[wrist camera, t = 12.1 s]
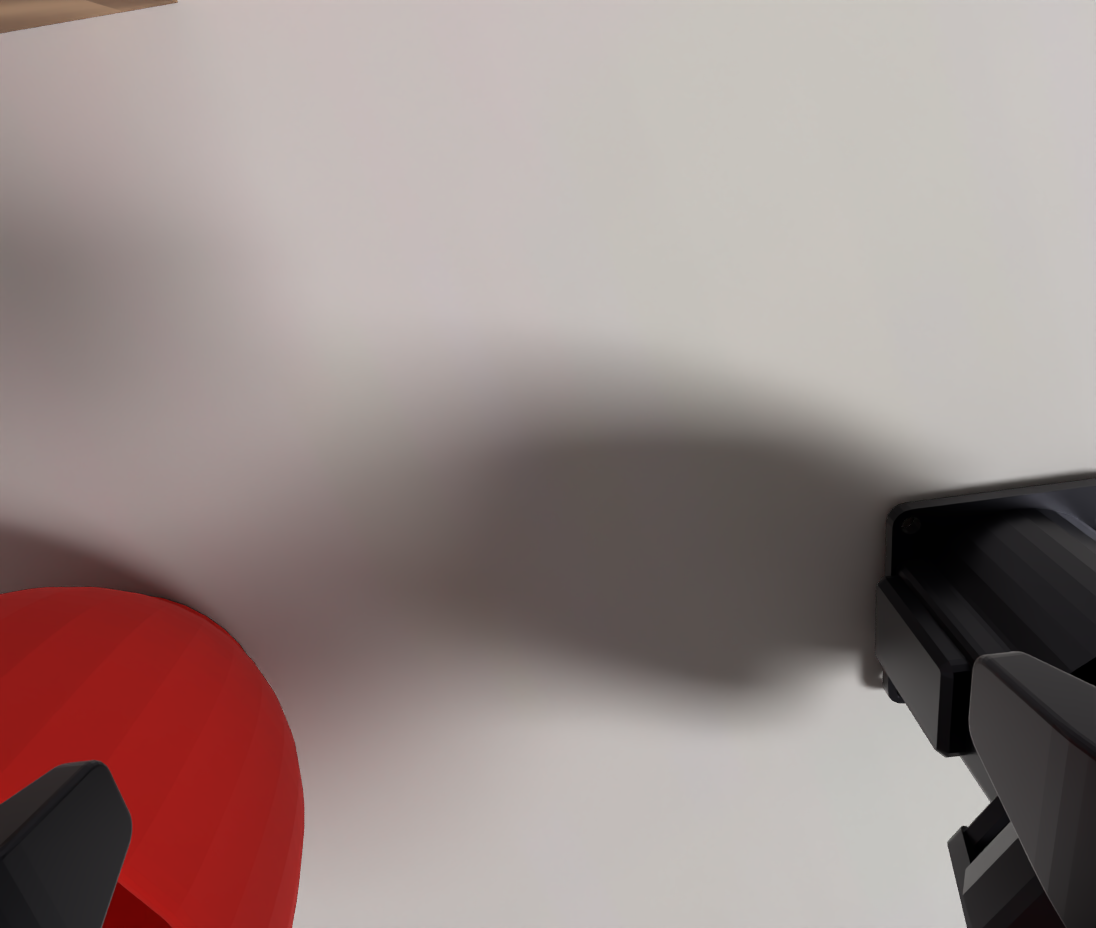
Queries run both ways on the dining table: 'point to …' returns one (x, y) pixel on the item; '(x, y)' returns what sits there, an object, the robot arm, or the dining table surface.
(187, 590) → the dining table surface
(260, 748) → the ceramic cup
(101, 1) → the open wooden box
